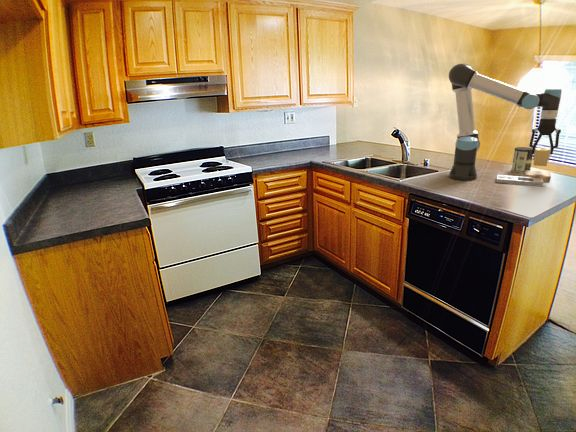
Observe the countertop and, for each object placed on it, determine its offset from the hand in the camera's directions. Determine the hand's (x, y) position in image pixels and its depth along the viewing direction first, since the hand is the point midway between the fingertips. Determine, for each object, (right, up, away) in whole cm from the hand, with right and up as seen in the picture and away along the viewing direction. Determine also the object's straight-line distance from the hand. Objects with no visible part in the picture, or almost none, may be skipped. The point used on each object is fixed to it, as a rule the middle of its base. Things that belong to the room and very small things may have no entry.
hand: (540, 159), depth 212 cm
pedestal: (0, -10, +4) cm, 11 cm away
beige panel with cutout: (-14, -13, -2) cm, 19 cm away
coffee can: (+2, -4, +21) cm, 22 cm away
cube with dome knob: (0, -3, +1) cm, 3 cm away
